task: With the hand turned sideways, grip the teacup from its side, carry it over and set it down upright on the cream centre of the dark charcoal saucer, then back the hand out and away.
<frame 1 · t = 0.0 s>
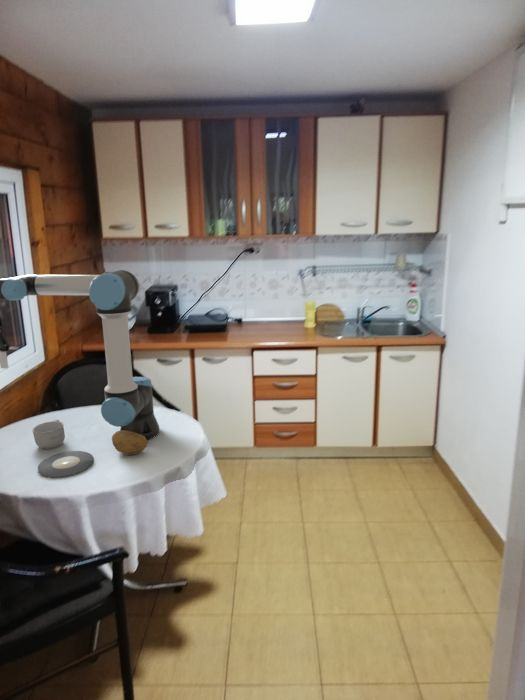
potato: (131, 453, 179), on the table
teacup: (53, 444, 188), on the table
saucer: (66, 465, 171), on the table
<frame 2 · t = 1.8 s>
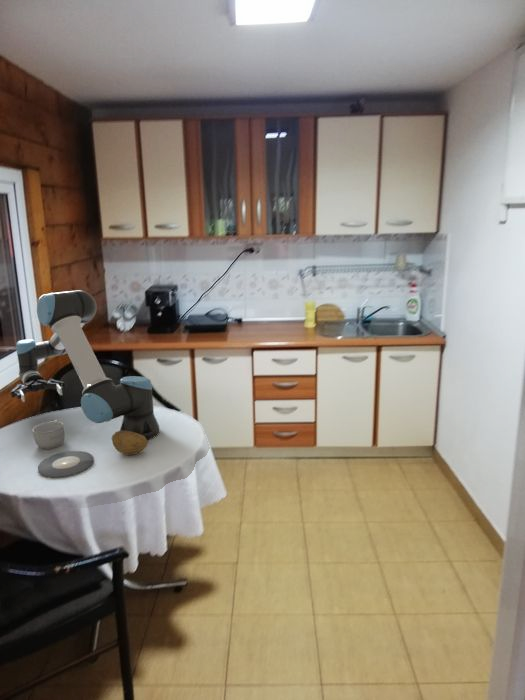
hand: (42, 395, 192), 17 cm above the table, tool horizontal, fingers open, 13 cm apart
nothing on the table moved.
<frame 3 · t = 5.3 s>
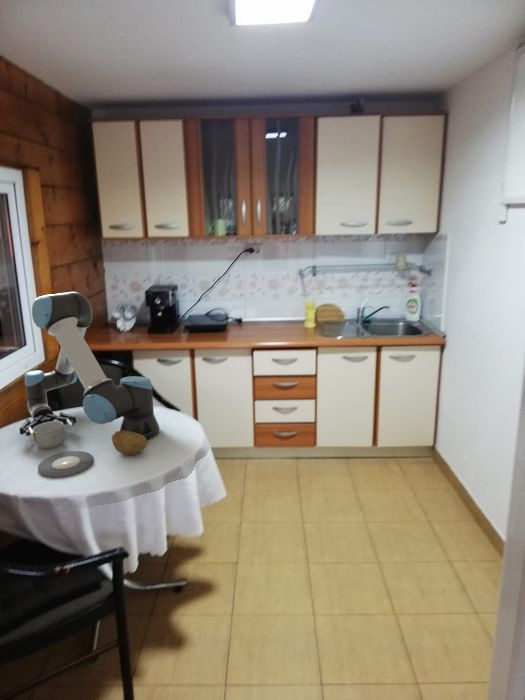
hand: (52, 432, 184), 6 cm above the table, tool horizontal, fingers open, 13 cm apart
teacup: (52, 444, 188), on the table, touching gripper
everything else where it was.
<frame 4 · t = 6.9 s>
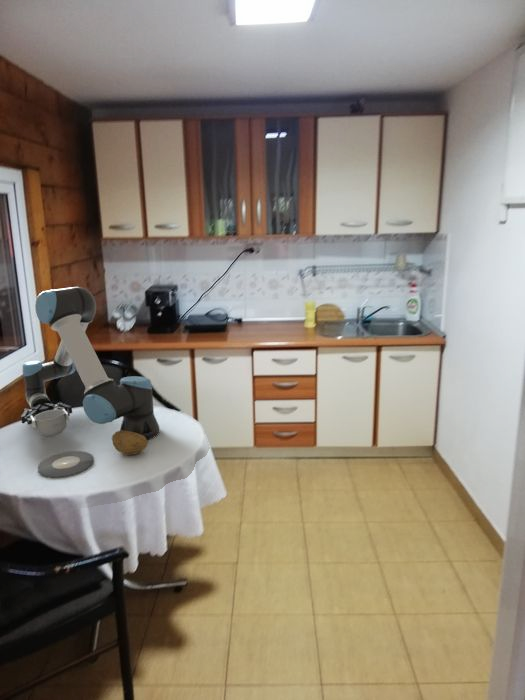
hand: (51, 420, 183), 11 cm above the table, tool horizontal, fingers closed on teacup, 11 cm apart
teacup: (54, 432, 187), point 4 cm above the table, touching gripper
everything else where it was.
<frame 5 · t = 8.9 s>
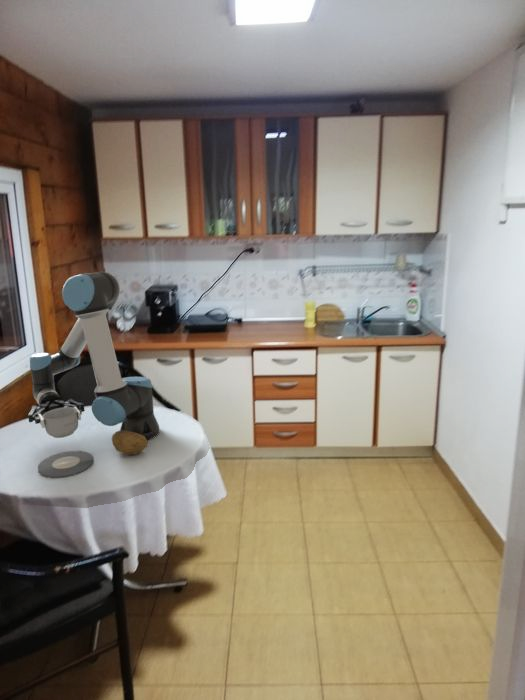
hand: (61, 420, 164), 18 cm above the table, tool horizontal, fingers closed on teacup, 11 cm apart
teacup: (64, 433, 169), point 12 cm above the table, touching gripper
everything else where it was.
when the fingers open (8 cm above the table, at t = 11.9 s): teacup stays where it is, resting on saucer.
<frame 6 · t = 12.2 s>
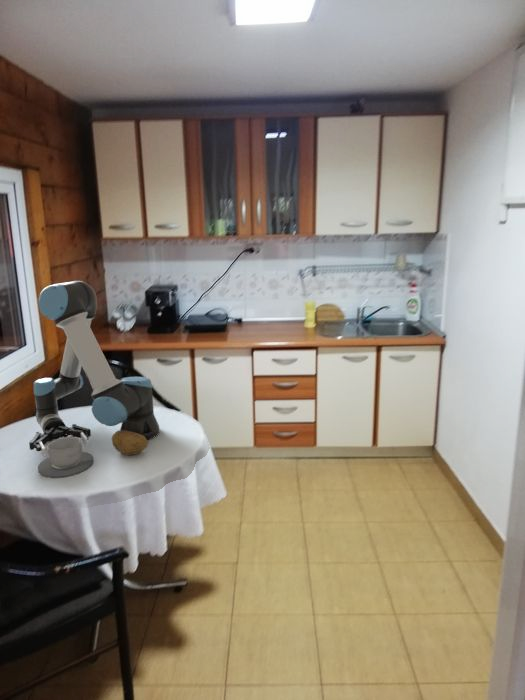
hand: (65, 447, 167), 8 cm above the table, tool horizontal, fingers open, 13 cm apart
teacup: (68, 462, 171), point 1 cm above the table, touching saucer
everything else where it was.
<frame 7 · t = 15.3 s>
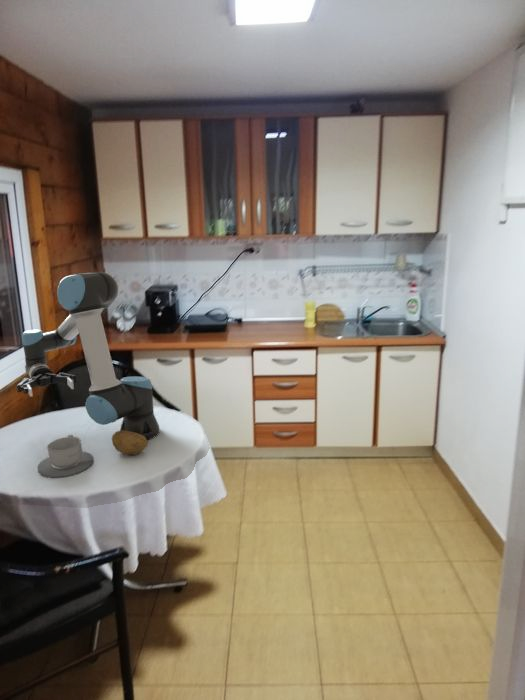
hand: (52, 389, 173), 25 cm above the table, tool horizontal, fingers open, 13 cm apart
nothing on the table moved.
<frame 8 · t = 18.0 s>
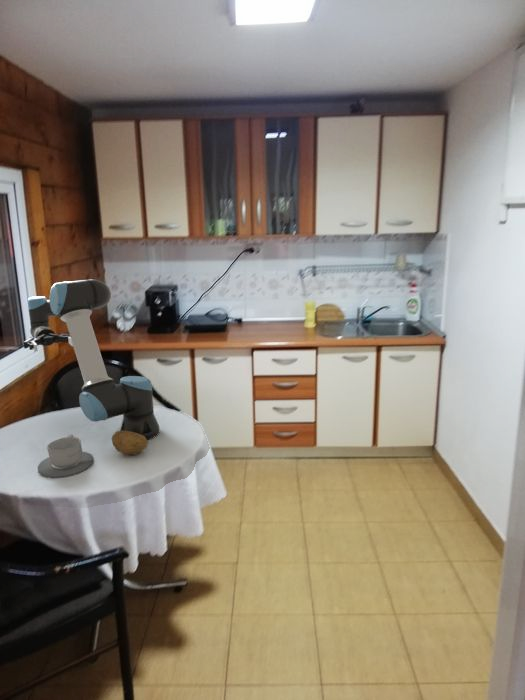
hand: (55, 345, 194), 35 cm above the table, tool horizontal, fingers open, 13 cm apart
nothing on the table moved.
at the end: teacup inside the target area on the saucer (0.9 cm from its centre), point 0.9 cm above the saucer's base; teacup tilted 0°; teacup touching saucer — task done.
